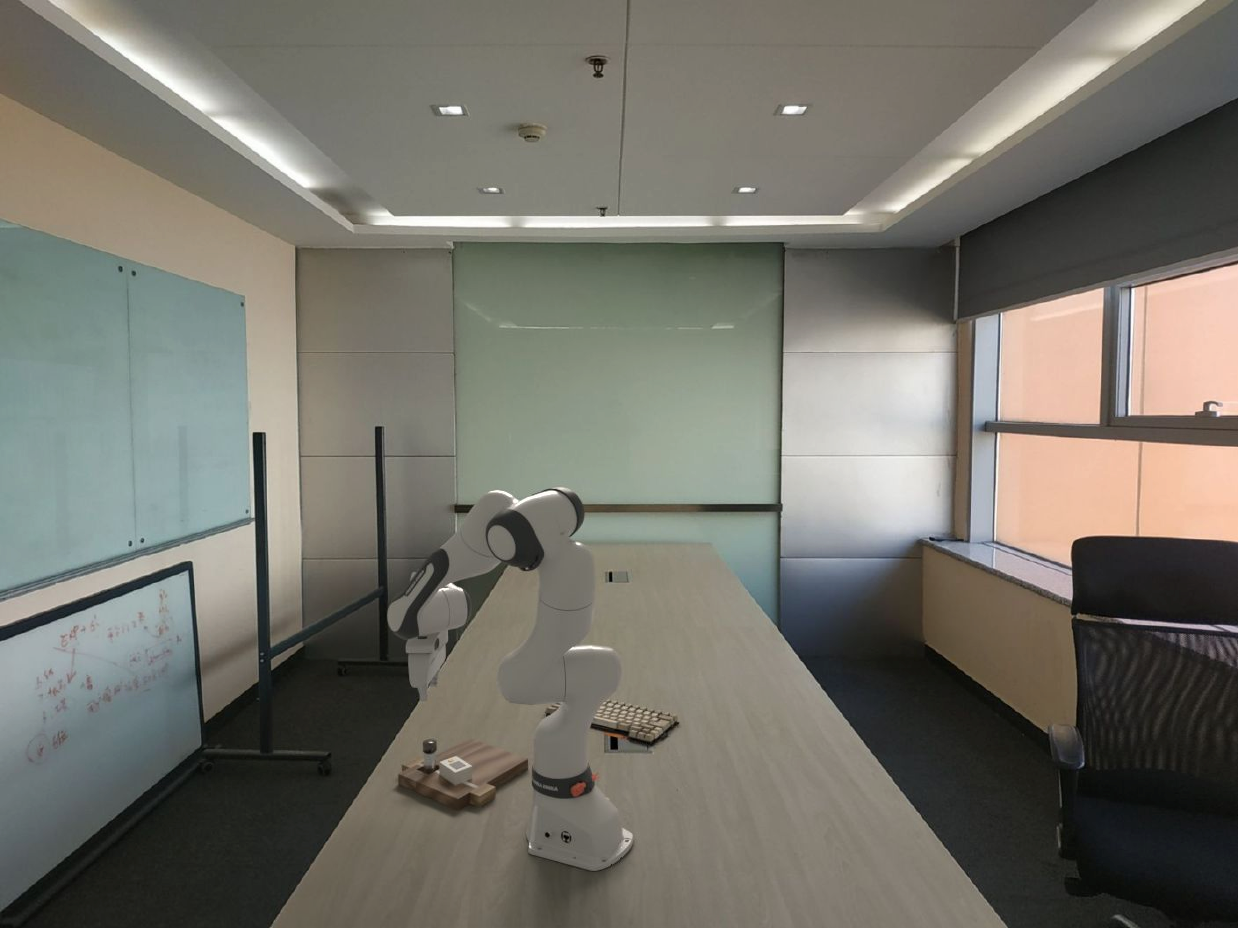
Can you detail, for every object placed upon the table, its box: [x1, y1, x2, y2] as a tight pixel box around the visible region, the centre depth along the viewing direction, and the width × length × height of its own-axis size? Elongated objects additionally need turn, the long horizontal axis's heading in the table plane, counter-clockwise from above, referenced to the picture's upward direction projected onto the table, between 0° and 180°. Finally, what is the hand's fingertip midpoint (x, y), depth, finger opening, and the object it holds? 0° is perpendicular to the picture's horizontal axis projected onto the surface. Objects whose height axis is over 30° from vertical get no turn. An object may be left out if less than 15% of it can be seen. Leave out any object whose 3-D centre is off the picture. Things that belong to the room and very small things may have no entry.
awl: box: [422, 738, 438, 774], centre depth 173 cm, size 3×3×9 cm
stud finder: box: [439, 756, 472, 785], centre depth 170 cm, size 7×4×3 cm, turn 44°
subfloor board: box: [397, 738, 529, 811], centre depth 175 cm, size 26×23×2 cm
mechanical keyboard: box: [544, 698, 681, 747], centre depth 208 cm, size 38×19×3 cm, turn 61°
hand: (429, 692), depth 173 cm, fingers open, 8 cm apart
